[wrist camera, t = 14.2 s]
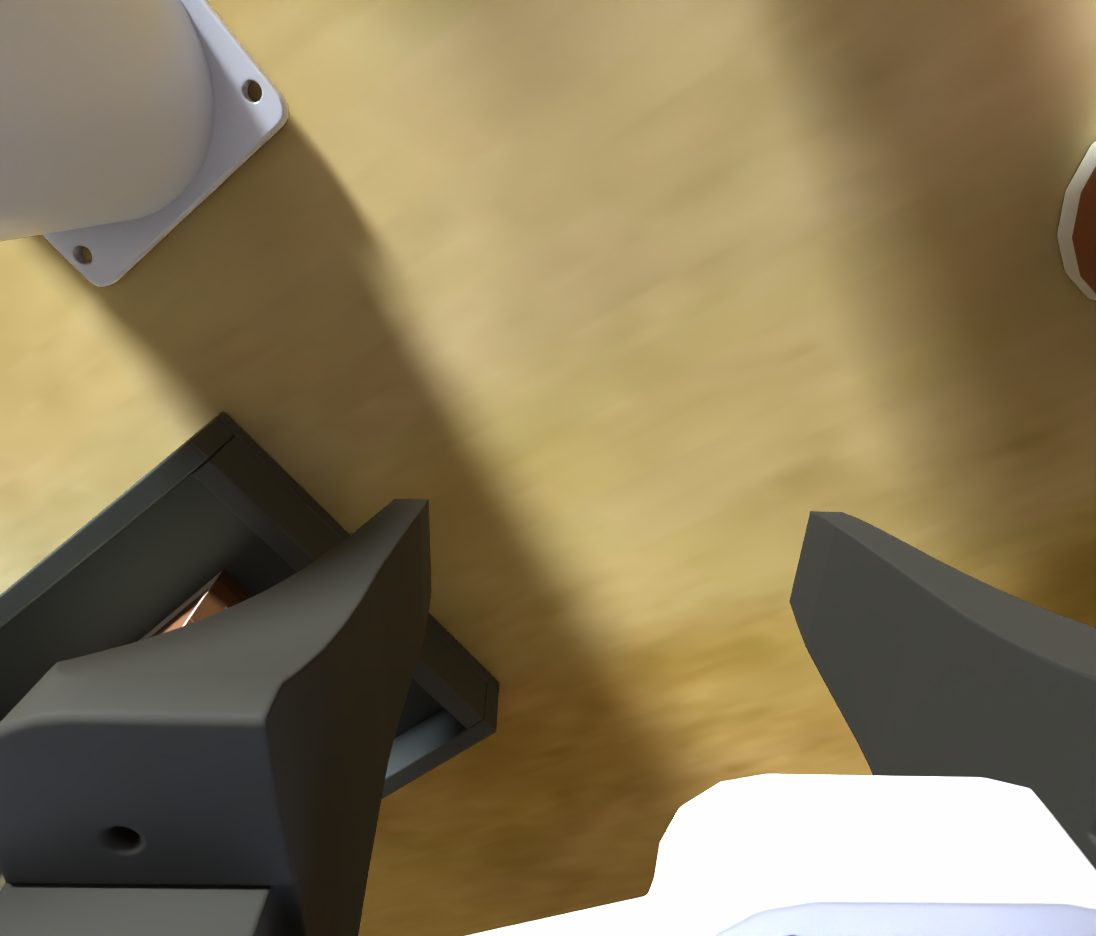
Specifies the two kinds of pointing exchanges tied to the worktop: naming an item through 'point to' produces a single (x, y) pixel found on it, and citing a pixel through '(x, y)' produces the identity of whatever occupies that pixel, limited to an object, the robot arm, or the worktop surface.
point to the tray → (197, 557)
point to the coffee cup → (1080, 226)
